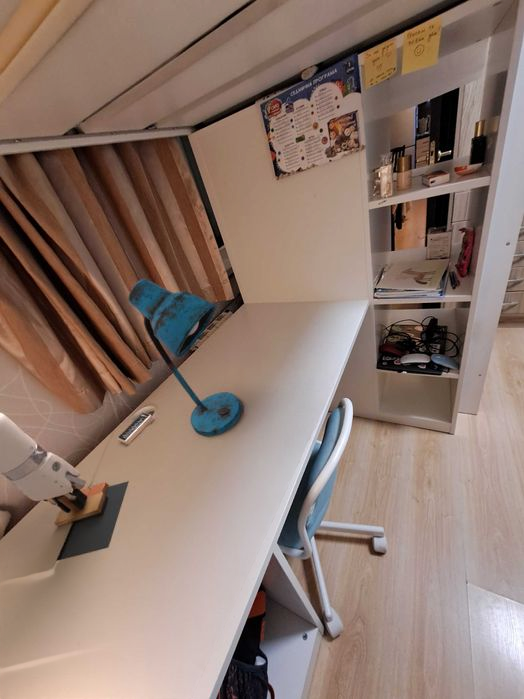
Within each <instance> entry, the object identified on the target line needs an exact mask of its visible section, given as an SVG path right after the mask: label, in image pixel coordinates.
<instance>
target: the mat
mask: <svg viewBox="0 0 524 699" xmlns="http://www.w3.org/2000/svg"><path fill="white" fill-rule="evenodd" d="M129 482H130V481H129V480H127V481H124V482H121V483H116V484H113V485H108V488H107V490H106V493H105V495H106V496H107V497H108V501H107V504H106V507H105V510H104V514H103V515H101V516H98V517H95V518H92V519H88V520H85V521H82V522H79V523H76V524H73V525H72V524H71V525H70V528H69V530H68V532H67V534H66V536H65V538H64V541H63V544H62V546H61V548H60V551H59V553H58V555H57V558H56V560H55V561H56V562H59V561H62V560H66V559H70V558H74V557H77V556H81V555H86V554H89V553H93V552H98V551H100V550H105V549H108V548H109V547H110V544H111V541H112V537H113V534H114V531H115V527H116V525H117V522H118V518H119V515H120V511H121V509H122V506H123V502H124V498H125V495H126V493H127V489H128V486H129Z"/></svg>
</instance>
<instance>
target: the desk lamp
mask: <svg viewBox="0 0 524 699" xmlns="http://www.w3.org/2000/svg"><path fill="white" fill-rule="evenodd" d="M127 297H128V303H129V304H130V305H131V306H133V307H134V308H135V309H136V310H137V311H138V312H139V313H140V314H142V316H144V317H143V326H144V328H145V330H146V333H147V334H148V336H149V338H150V340H151V342H152V344H153V345H154V347H155V349H156V351H157V352H158V353H159V355H160V356H161V358H162V359H163V362H165V364H166V365H167V367H168V368H169V370H170V371H171V373H172V374H173V375H174V377H175V379H176V380H177V381H178V383H179V384H180V385H181V386H182V388H183V389H184V391H185V392H186V393H187V395H188V396H189V397H190V399H191V400H192V401H193V403H194V404H195V405H196V406H195V407H194V409H193V410H192V412H191V416H190V424H191V426H192V429H193V430H194V432H195V433H196V434H198V435H200V436H203V437H213V436H217V435H220V434H222V433H225V432H226V431H228V430H230V429H231V428H232V427H233V426H234V425H235V424H236V423H237V422H238V420H239V419H240V416H241V414H242V409H243V408H242V403H241V401H240V399H239V397H237V396H236V395H235V394H233V393H232V392H227V391H226V392H218V393H217V392H216V393H214V394H211V395H209V396H207V397H205V398H204V399H202V400H201V399H200V398H199V397H198V396H197V394H196V392H195V391H194V390H193V389H192V388H191V387H190V385H189V384H188V382H187V381H186V380H185V378H184V376H183V375H182V374H181V373H180V371H179V370H178V368H177V367H176V365H175V364H174V362H173V360H171V358H170V356H169V354H168V353H167V351H166V350H165V348H167V350H168V351H170V352H171V353H172V354H173V355H174V357H176V359H180V358H182V357H183V356H184V355H185V354H186V353H187V352H188V351H189V350H190V349H191V348H192V347H193V346H194V344H195V343H196V342H197V341H198V339H199V337H201V335H202V334H203V332H204V331H205V330H206V328H207V326H208V325H209V324H210V322H211V320H212V318H213V316H214V314H215V312H216V309H217V305H216V304H215V303H213V302H210V301H209V300H207V299H205V298H203V297H200V296H198V295H196V294H194V293H192V292H189V291H187V290H183V291H179V292H172V291H170V290H168V289H166V288H164V287H162V286H161V285H158V284H157V283H155V282H153V281H151V280H149V279H147V278H143V279H140V280H138V281H137V282H136V283H135V284H134V285H133V286H132V288H131V289H130V291H129V293H128V296H127ZM163 346H164V347H165V348H164V347H163Z"/></svg>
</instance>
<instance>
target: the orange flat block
mask: <svg viewBox="0 0 524 699" xmlns="http://www.w3.org/2000/svg"><path fill="white" fill-rule="evenodd" d="M91 487H92V486H91ZM91 487H86V488H82V489H81V490H80V491H81V492H83V493H84V494H85V495H86V496H88V494H89V492H90V490H91Z"/></svg>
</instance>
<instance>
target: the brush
mask: <svg viewBox="0 0 524 699" xmlns="http://www.w3.org/2000/svg"><path fill="white" fill-rule="evenodd" d="M71 493H72V491H71ZM56 498H57V499H58V500H59V501H60V502H61V503H63V504H64V505H65V506H67V507H68V508H69V509H70V510H71V512H70V513H66V512H65V511H63V510H62V509H61V508H59V511H58V514H57V517H56V518H55V521H54V525H55V526H57V527H61V526H65V525H67V524H71V525H73V524H76V523H79V522H82V521H85V520H88V519H92V518H95V517H98V516H101V515H103V514H104V510H105V507H106V504H107V501H108V497H107V496H106V495H105V494H104V493H99V494H96V495H93V496H90V497H87V501H86V503H85V505H84V508H83V509H81V510H80V509H78V508H77V507H76V506H74V505H73V504H72V503H71V502H70V501H71V500H70V499H69V498H68V497H66V496H65V495H61V496H57V497H56Z"/></svg>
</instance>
